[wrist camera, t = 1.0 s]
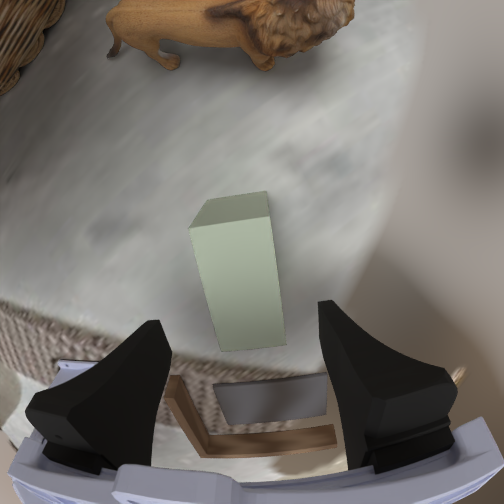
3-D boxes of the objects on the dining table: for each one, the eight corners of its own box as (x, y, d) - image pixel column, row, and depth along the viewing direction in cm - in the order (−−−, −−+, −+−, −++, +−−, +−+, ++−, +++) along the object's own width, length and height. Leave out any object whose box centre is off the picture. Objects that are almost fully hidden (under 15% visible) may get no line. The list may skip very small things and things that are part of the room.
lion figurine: (322, 8, 14) (362, -57, 6) (327, 75, 16) (380, 40, 8) (111, 29, 15) (37, -8, 6) (110, 93, 17) (27, 84, 8)
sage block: (228, 300, 23) (221, 351, 17) (207, 199, 20) (188, 228, 14) (280, 293, 23) (286, 345, 17) (266, 190, 20) (269, 216, 14)
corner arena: (203, 438, 31) (201, 457, 29) (170, 375, 27) (163, 397, 24) (332, 427, 30) (336, 447, 27) (337, 359, 25) (344, 382, 23)
